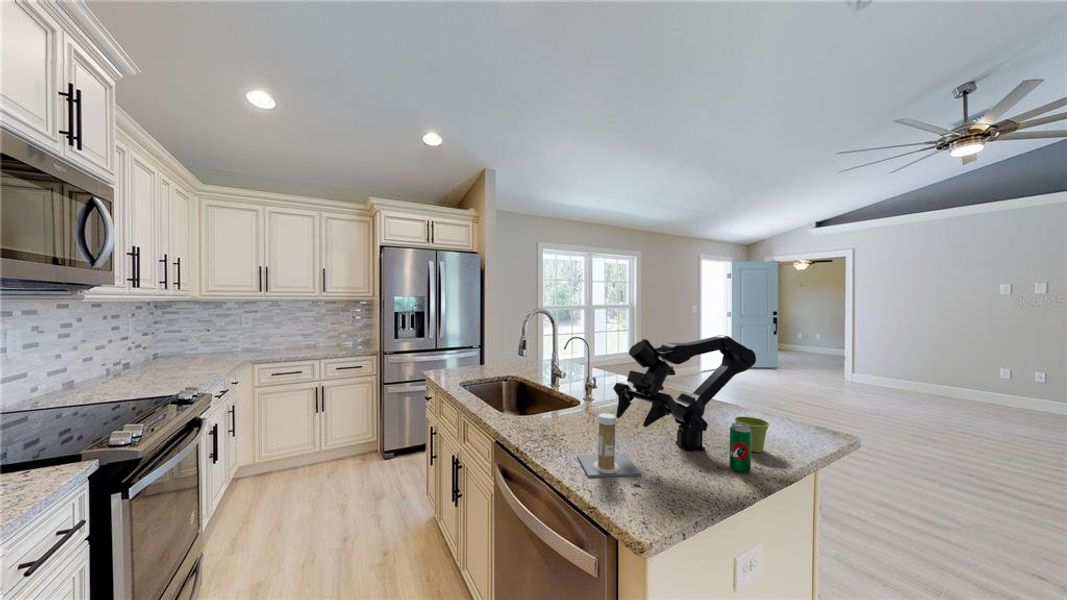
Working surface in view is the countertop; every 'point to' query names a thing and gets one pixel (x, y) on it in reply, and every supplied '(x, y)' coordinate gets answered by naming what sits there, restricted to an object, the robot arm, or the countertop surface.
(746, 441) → the soda can
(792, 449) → the countertop surface
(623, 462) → the board
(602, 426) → the sprinkles bottle
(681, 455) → the countertop surface
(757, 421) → the plant pot
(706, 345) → the robot arm
